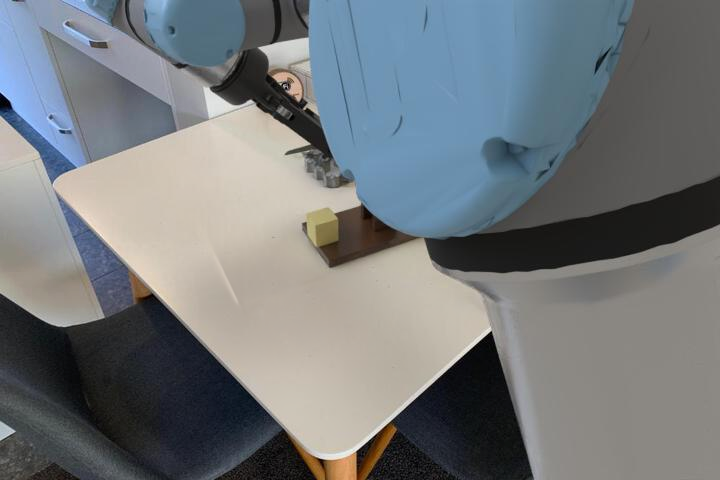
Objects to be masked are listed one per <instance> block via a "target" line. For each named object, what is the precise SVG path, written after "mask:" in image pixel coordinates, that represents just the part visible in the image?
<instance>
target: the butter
mask: <svg viewBox="0 0 720 480" xmlns="http://www.w3.org/2000/svg"><path fill="white" fill-rule="evenodd" d="M305 215H306V216H305V217H306V222H307V234H308V237H309V238H310V239H311V241H312V242H313V244H314V245H315V246H316V248H317V247H320V246H323V245H326V244H329V243H333V242H336V241H338V218H337V217H336V216H335V214H334V212H333V211H332V210H331V208H330V207H329V206H328V207H325V208H321V209H317V210H313V211H310V212H306V214H305ZM308 237H307V238H308ZM311 241H310V242H311ZM313 244H312V245H313ZM316 248H315V249H316Z"/></svg>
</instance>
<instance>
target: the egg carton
mask: <svg viewBox="0 0 720 480" xmlns="http://www.w3.org/2000/svg"><path fill="white" fill-rule="evenodd" d="M300 153H301V156H302V157H303V159H304V171H306V172H307V173H313V177H314V179H315V180H323V186H324V187H327V188H328V187H329V188H331V187H332V188H337V187H340V183H342V182H347V183H351V182H354V180H349V179H347V178H345V177H344V176H343V175H342V173H341V171H340V169H339V167H338V165H337V164H336V162H335V160H334V159H333V158H332V159H330V158H326V159H323V158H322V157H321V155H322V154H323V153H322V152H321V151H319V150H318V149H313V150H309V151H305V152H300Z"/></svg>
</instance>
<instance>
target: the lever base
mask: <svg viewBox="0 0 720 480" xmlns="http://www.w3.org/2000/svg"><path fill="white" fill-rule="evenodd" d="M333 213H334V212H333ZM334 214H335V216H336V217H337V218H338V241H336V242H333V243H329V244H326V245H323V246H320V247H317V248H316V246H315V245H314V244H313V242H312V241H311V239H310V238H309V237H308V234H307V221H303V222H301V229H302V230H301V231H303V233H304V235H305V236H306V237H307V239H308V240H309V241H310V243H311V245H313V247H314V248H315V250H316V251H317V252H318V254H319V255H320V257H321V258H322V259H323V261H324V262H325V264H326V265H327V267H328V268H333V267H336V266H339V265H341V264H344V263H347V262H350V261H354V260H357V259H359V258H362V257H366V256H368V255H371V254H375V253H378V252H380V251H384V250H386V249H390V248H392V247H395V246H398V245H401V244H404V243H407V242H410V241H413V240H416V239H418V238H420V237H416V236H412V235H408V234H405V233H403V232H401V231H398V230H396V229H393V228H391V227H390V226H388V225H386V224H385V223H384V222H382V221H381V220H380V219H378V218H377V217H376V216H374V215H373V214H372V213H371V212H370V211H369V210H368V209H367V208H366V207H365V206H364V205H363V204H362V203H361V202H360V205H357V206H355V207H351V208H347V209H344V210H341V211H337V212H335V213H334Z"/></svg>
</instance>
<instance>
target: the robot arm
mask: <svg viewBox="0 0 720 480" xmlns="http://www.w3.org/2000/svg"><path fill="white" fill-rule="evenodd" d="M84 3H85V5H86V6H87V7H88V8H89V9H90V10H91V11H92V12H94V13H95V14H96V15H98V16H99V17H100V18H102V19H103V20H105V21H106V23H107V24H108V25H110V26H111V27H113V28H116V29H117V30H119V31H121V32H122V33H124V34H125V35H126V36H128V37H130V38H131V39H133V40H134V41H135V42H137V43H139V44H140V45H142V47H144V48H146V49H148V50H149V51H151V52H152V53H154V54H156V55H157V56H159V57H160V58H162V59H163V60H165V61H166V62H168V63H170V64H171V65H172V66H173V67H175V69H176V70H178V71H180V72H181V73H182V74H184V75H185V76H187V77H188V78H190V79H191V80H193V81H194V82H195V83H197V84H198V85H200V86H201V87H203V88H206V89H207V88H209V90H210V92H211V93H213V94H215V95H216V96H217V97H219V98H220V99H222V100H223V101H225V102H226V103H228V104H229V105H231V106H242V105H244V104H246V103H248V102H249V101H252V102H254V103H255V107H257V109H259V110H260V111H262V112H263V113H265V114H269V115H270V116H271V117H272V118H273V119H274V120H275V121H277V122H279V123H280V124H282V125H284V126H286V127H287V128H288V129H290V130H291V131H293V132H294V133H295V134H296V135H298V136H299V137H301V138H302V139H303V140H305V141H306V142H307V143H309V145H310V144H311V145H313V146H314V147H315V148H317V149H318V150H319V151H321V152H322V153H323V154H322V155H321V157H322V158H323V159H326V158H330V159H332V158H333V159H334V160H335V162H336V164H337V165H338V167H339V169H340V171H341V173H342V175H343V176H344V177H345V178H347V179H349V180H353V181H355V195H356V197H357V199H358V201H359V202H360V204H361V203H362V204H363V205H364V206H365V207H366V208H367V209H368V210H369V211H370V212H371V213H372V214H373V215H374V216H376V217H377V218H378V219H380V220H381V221H382V222H384V223H385V224H386V225H388V226H390V227H391V228H393V229H396V230H398V231H401V232H403V233H405V234H408V235H412V236H416V237H419V238H423V240H424V243H425V247H426V251H427V253H428V257H429V259H430V262H431V264H432V266H433V268H434V269H435V270H436V271H438V272H439V273H441V274H443V275H444V276H447V277H448V278H450V279H453V280H455V281H457V282H458V283H461V284H462V285H464V286H466V287H468V288H470V289H472V290H475V291H476V292H477V293H478V294H479V295H480V296H481V299H482V302H483V306H484V309H485V312H486V315H487V319H488V323H489V326H490V329H491V330H490V331H491V333H492V336H493V340H494V343H495V347H496V351H497V354H498V358H499V362H500V364H501V365H500V366H501V368H502V371H503V375H504V378H505V381H506V385H507V389H508V392H509V396H510V399H511V402H512V407H513V410H514V413H515V417H516V420H517V424H518V427H519V431H520V435H521V439H522V441H523V444H524V449H525V452H526V455H527V459H528V462H529V466H530V469H531V473H532V476H533V480H720V0H84ZM307 38H308V53H309V54H308V55H309V68H310V75H311V81H312V88H313V94H314V98H315V99H314V100H315V104H316V111H317V113H316V112H315V111H313V110H312V109H310V108H309V107H307V105H308V104H309V102H308V101H307V100H306V99H305V98H304V97H301V98H300V100H298V99H297V97H296V96H295V95H292V94H291V93H290V92H288V91H287V90H286V89H285V87H284V86H283V85H281V84H280V83H279V82H278V81H277V80H276V78H274V77H273V76H272V75H271V74H269V69H270V68H269V67H270V61H269V60H270V59H269V58H268V55H267V54H266V52H264V51H263V50H261V48H262V47H267V46H271V45H275V44H277V43H283V42H289V41H295V40H300V39H301V40H302V39H307ZM305 107H306V108H305ZM312 114H315V115H317V116H318V117H319V118H320V121H321V125H322V126H321V125H320V124H319V123H318V122H317V121H315V120H314V119H313V118H312V117H310V115H312Z"/></svg>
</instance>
